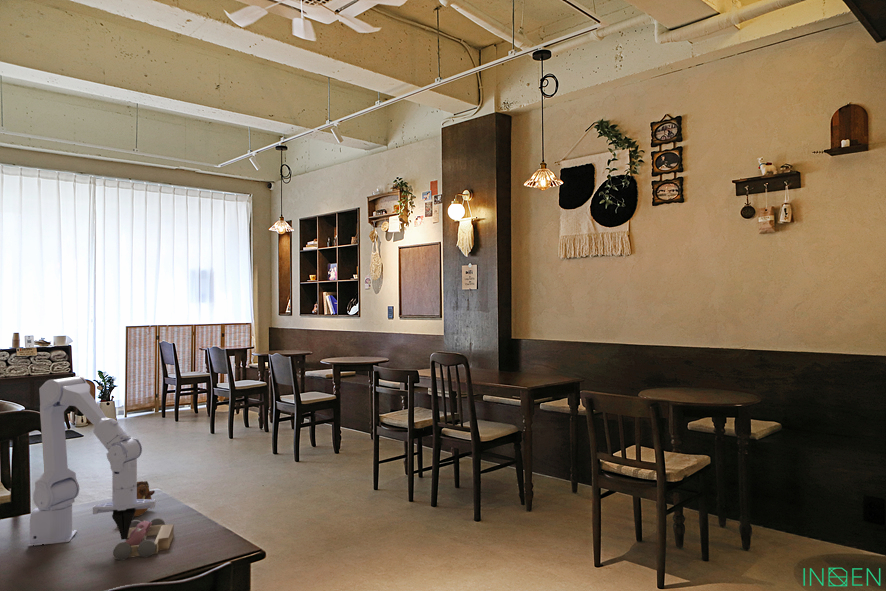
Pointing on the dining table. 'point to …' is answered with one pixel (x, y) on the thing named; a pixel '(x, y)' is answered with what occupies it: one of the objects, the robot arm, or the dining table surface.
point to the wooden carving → (143, 495)
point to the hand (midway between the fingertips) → (124, 537)
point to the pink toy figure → (139, 533)
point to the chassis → (146, 541)
